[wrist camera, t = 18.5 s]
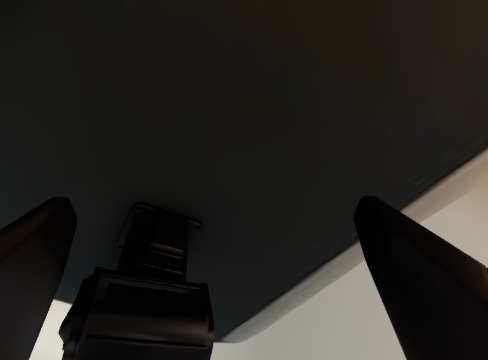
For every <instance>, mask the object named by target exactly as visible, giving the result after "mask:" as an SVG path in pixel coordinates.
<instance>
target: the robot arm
mask: <svg viewBox="0 0 488 360" xmlns="http://www.w3.org/2000/svg"><path fill="white" fill-rule="evenodd" d="M138 207H141V208H138ZM354 223H355V227H356V230H357V234H358V237H359V240H360V244H361V247H362V251H363V254H364V257H365V260H366V263H367V266H368V268H369V270H370V273H371V275H372V278H373V280H374V282H375V285H376V287H377V290H378V292H379V295H380V297H381V299H382V302H383V304H384V307H385V309H386V311H387V314H388V316H389V318H390V321H391V323H392V326H393V328H394V330H395V333H396V335H397V338H398V340H399V342H400V345H401V347H402V350H403V352H404V354H405V357H406V359H407V360H488V268H486V266H485V265H483V264H482V263H480V262H478V261H477V260H475V259H474V258H472V257H471V256H469V255H467V254H466V253H464V252H462V251H461V250H459V249H458V248H456V247H455V246H453V245H452V244H450V243H448V242H447V241H445V240H444V239H442V238H441V237H439V236H437V235H436V234H434V233H433V232H431V231H429V230H428V229H426V228H425V227H423V226H421V225H420V224H418V223H417V222H415V221H414V220H412V219H411V218H409V217H407V216H406V215H404V214H403V213H401V212H400V211H398V210H396V209H395V208H393V207H392V206H390V205H388V204H387V203H385V202H384V201H382V200H381V199H379V198H377V197H376V196H363V197H362V198H361V199H360V201H359V203H358V206H357V208H356V210H355V213H354ZM76 227H77V217H76V214H75V211H74V209H73V206H72V204H71V201H70V200H69V198H66V197H53V198H50V199H49V200H47V201H45V202H44V203H42V204H41V205H39V206H37V207H36V208H34V209H33V210H31V211H30V212H28V213H26V214H25V215H23V216H22V217H20V218H18V219H17V220H15V221H14V222H12V223H11V224H9V225H7V226H6V227H4V228H3V229H1V230H0V360H29V358H30V355H31V353H32V350H33V348H34V345H35V343H36V340H37V338H38V336H39V333H40V330H41V328H42V326H43V323H44V321H45V318H46V316H47V313H48V311H49V308H50V306H51V303H52V301H53V298H54V296H55V293H56V291H57V289H58V286H59V284H60V281H61V279H62V276H63V273H64V270H65V267H66V264H67V260H68V256H69V252H70V249H71V245H72V241H73V238H74V234H75V230H76ZM202 228H203V223H202V222H201V221H198V220H195V219H192V218H189V217H186V216H183V215H180V214H177V213H173V212H170V211H167V210H164V209H161V208H158V207H155V206H152V205H149V204H146V203H143V202H137V203H135V205H134V207H133V209H132V211H131V213H130V215H129V217H128V219H127V222H126V224H125V226H124V228H123V230H122V232H121V234H120V236H119V238H118V241H117V243H116V246H115V247H116V249H118V250H121V251H122V252H121V255H120V258H119V262H118V265H117V268H116V271H114V270H107V269H104V268H103V267H96V268H95V271H94V273H93V275H90V276H89V278H87V279H84V280H83V282H82V284H81V287H80V289H79V292H78V294H77V297H76V299H75V301H74V303H73V305H72V306H71V308H70V310H69V312H68V313H67V316H66V317H65V319H64V320H63V322H62V324H61V326H60V329H59V335H60V337H61V339H62V340H63V342H64V344H63V348H62V350H64V353H63V357H62V360H210V357H211V354H212V348H213V341H214V320H213V314H212V308H211V302H210V296H209V290H208V284H205V283H200V284H198V283H192V282H186V272H187V258H188V249H189V248H190V246H191V245H192V243H193V242H194V240H195V239H196V237H197V236H198V234H199V233H200V232H201V230H202Z"/></svg>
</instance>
